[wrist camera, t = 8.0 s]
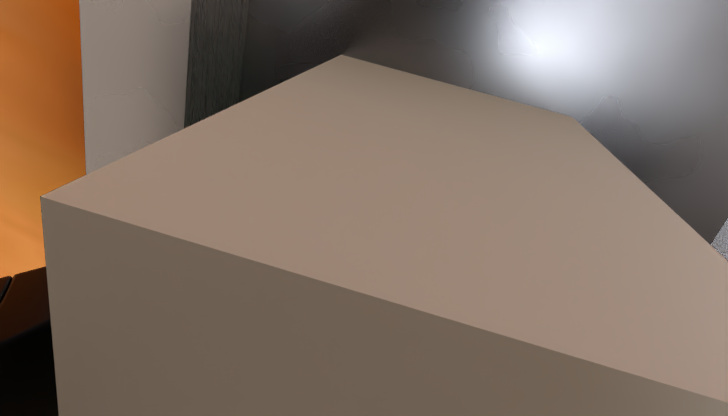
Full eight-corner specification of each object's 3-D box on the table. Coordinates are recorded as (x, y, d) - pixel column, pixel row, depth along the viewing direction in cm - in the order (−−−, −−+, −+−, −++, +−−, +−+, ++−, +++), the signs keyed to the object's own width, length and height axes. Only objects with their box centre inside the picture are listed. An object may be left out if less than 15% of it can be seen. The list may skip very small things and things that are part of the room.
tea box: (572, 117, 10) (953, 472, 2) (463, 363, 13) (483, 851, 5) (335, 53, 10) (19, 190, 3) (285, 309, 13) (72, 700, 6)
